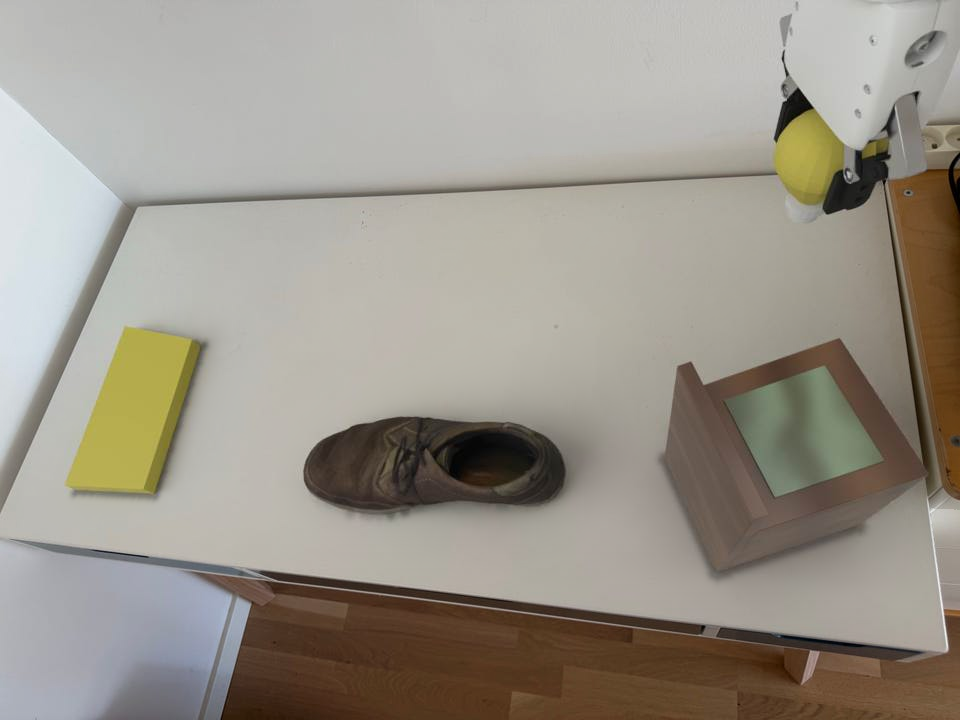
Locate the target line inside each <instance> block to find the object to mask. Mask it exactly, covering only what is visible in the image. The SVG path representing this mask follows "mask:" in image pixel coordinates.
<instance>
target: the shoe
mask: <svg viewBox="0 0 960 720" xmlns="http://www.w3.org/2000/svg"><path fill="white" fill-rule="evenodd" d="M302 475H303V482H304V485H305V487H306V489H307V491H308V492H309V493H310V494H311V496H313V497H314V498H317V499H318V500H320V501H321V502H324V503H326V504H329V505H331V506H333V507H335V508H338V509H341V510H344V511H349V512H353V513H360V514H370V515H378V514H382V515H383V514H391V513H397V512H402V511H405V510H409V509H411V508H414V507H417V506H428V505H436V504H441V503H450V502H473V503H481V504H482V503H483V504H489V505H490V504H492V505H493V504H497V505H498V504H499V505H509V506H516V507H529V508H530V507H538V506H541V505H545V504H548V503H549V502H551V501H552V500H554V499H555V498H556V497H557V496H558V494H559V493H560V492H561V491H560V490H561V489H562V488H563V486H564V482H565V478H566V465H565V461H564V458H563V455H562V453H561V452H560V450H559V448H558V447H557V444H555V443H554V442H553V441H552V440H551V439H550V438H548V437H547V436H546V435H544V434H542V433H541V432H538V431H535V430H533V429H531V428H530V427H529V428H528V427H526V426H525V425H523V424H519V423H515V422H511V421H506V422H501V421H476V422H475V421H474V422H473V421H460V420H458V421H457V420H449V419H444V418H443V419H442V418H433V417H431V416H427V417H422V416H394V417H388V418H382V419H379V420H376V421H373V422H365V423H363V422H362V423H356V424H353V425H351V426H350V427H348V428H346V429H344V430H340V431H338V432H335V433H333V434H331V435H329V436H326V437H324V438H322V439H321V440H320V441H318V442H317V443H316V444H315V446H314V447H313V448H311V450H310V451H309V453H308V455H307V456H306V459H305V462H304V466H303V471H302Z"/></svg>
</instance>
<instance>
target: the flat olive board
mask: <svg viewBox="0 0 960 720" xmlns="http://www.w3.org/2000/svg"><path fill="white" fill-rule="evenodd" d="M201 348H202V347H201V345H200V344H199V343H197V342H196V341H195V340H193V339H191V338H188V337H187V338H186V337H182V336H177V335H172V334H167V333H161V332H157V331H152V330H145V329H143V328H137V327H132V326H127V325H124V327H123V330H122V332H121V335H120V338H119V341H118V343H117V346H116V348H115V351H114V354H113V356H112V358H111V361H110V363H109V367H108V369H107V372H106V374H105V377H104V380H103V382H102V385H101V387H100V391H99V393H98V396H97V398H96V402H95V404H94V406H93V409H92V412H91V414H90V416H89V420H88V422H87V426H86V428H85V430H84V433H83V436H82V438H81V441H80V443H79V446H78V449H77V451H76V454H75V456H74V460H73V462H72V464H71V467H70V470H69V472H68V475H67V477H66V481H65V483H64V486H65V487H68V488H70V489H72V490H76V491H89V492H91V491H93V492H111V493H113V492H114V493H129V494H130V493H131V494H133V493H134V494H151V495H154V494H155V493H156V490H157V488H158V484H159V481H160V478H161V477H160V476H161V474H162V472H163V468H164V465H165V462H166V459H167V455H168V453H169V449H170V446H171V443H172V439H173V436H174V433H175V431H176V427H177V425H178V421H179V417H180V414H181V411H182V408H183V405H184V402H185V398H186V395H187V392H188V389H189V385H190V383H191V379H192V377H193V373H194V369H195V367H196V364H197V360H198V357H199V355H200V351H201Z"/></svg>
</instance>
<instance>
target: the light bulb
mask: <svg viewBox="0 0 960 720" xmlns="http://www.w3.org/2000/svg"><path fill="white" fill-rule="evenodd" d="M843 144H844V143H843V142H842V141H840V140H839V138H838V137H837V136H836V135H835V134H834V132H833V131H832V130H831V129H830V127H829V126H828V125H827V124H826V123H825V121H824V120H823V119H822V117H821V116H820V115H819V114H818V112H817V111H816V110H815V108H814V109H811V110H808V111H806V112H804V113H803V114H801V115H800V116H798V117H797V118H795V119H794V120H792V121H791V122H790V123H789V124H788V126H787V127H786V128H785V129H784V131H783V132H782V133H781V135H780V136H779V138H778V141H777V143H775V146H774V147H775V148H774V152H773V157H772V159H773V167H774V170H775V172H776V174H777V176H778V177H779V179H780V181H781V183H782V185H783V187H784V188H785V190H786V191H787V193H786V197H785V201H784V204H785V208H786V210H787V215H788V217H789V218H790V220H792V221H793V222H795V223H797V224H802V225H805V224H806V225H807V224H810V223H813V222H815V221H816V220H817V219H818V218H820V217H822V215H824V214H825V212H824V211H823V209H822V207H823V203H824V200H825V197H826V195H827V192H828V189H829V187H830V184H831V181H832V179H833V176H834V174H835V173H836V172H837V171H839V170H842V169H843ZM872 155H876V141H875V142H872V143H869V144H867V145H866V147H865V148H864V149H863V150H862V159H863V158H866V157H869V156H872Z"/></svg>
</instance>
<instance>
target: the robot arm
mask: <svg viewBox="0 0 960 720" xmlns="http://www.w3.org/2000/svg"><path fill="white" fill-rule="evenodd" d="M779 28H780V34H781V40H782V47H783V48H784V49H783V50H782V54H781V62H782V64H783V69H784V73H785V79H784V80H783V81H782V82H781V84H780V94H781V96H782V97H783V99H785V100H784V101H782V103H781V107H780V111H779V116H778V119H777V122H776V127H775V132H774V136H773V141H774V142H775V144H777V141H778V138H779V136H780V135H781V133H782V132H783V131H784V129H785V128H786V127H787V126H788V124H789V123H790V122H791V121H792V120H794V119H795V118H797V117H798V116H800V115H801V114H803V113H804V112H806V111H808V110H811V109H814V108H815V110H816V111H817V112H818V114H819V115H820V116H821V117H822V119H823V120H824V121H825V123H826V124H827V125H828V126H829V127H830V129H831V130H832V131H833V132H834V134H835V135H836V136H837V137H838V138H839V140H840V141H842V142H843V143H844V144H843V169H842V170H839V171H837V172H836V173H835V174H834V176H833V179H832V181H831V184H830V187H829V189H828V192H827V195H826V197H825V200H824V203H823V207H822V209H823V211H824V212H825V213H824V214H825V215H826V216H827V215H828V216H829V215H832V214H835V213H838V212H841V211H843V210H845V211H851V210H855V209H858V208H860V207H861V206H863V205H865V204H866V203H867V201H868V200H869V199H870V198H871V196H872V193H873V191H874V189H875V188H876V185H877V183H878V182H881V181H885V180H888V181H894V180H905V179H907V178H911V177H913V176H916V175H919V174H921V173H924V172H926V171H927V169H928V161H927V156H926V150H925V144H924V139H923V133H922V130H923V129H924V128H925V127H926V126H927V125H928V123H929V121H930V119H931V118H932V116H933V113H934V112H935V110H936V107H937V105H938V104H939V101H940V99H941V97H942V94H943V92H944V89H945V87H946V85H947V83H948V81H949V78H950V75H951V73H952V70H953V68H954V65H955V63H956V60H957V58H958V54H959V52H960V0H795V3H794V7H793V11H792V13H790V14H788V15H787V14H786V15H784V16H782V17H781V18H780V20H779ZM875 141H876V154H875V155H872V156H869V157H866V158H863V159H862V150H863V149H864V148H865V147H866V145H867V144H869V143H872V142H875Z"/></svg>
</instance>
